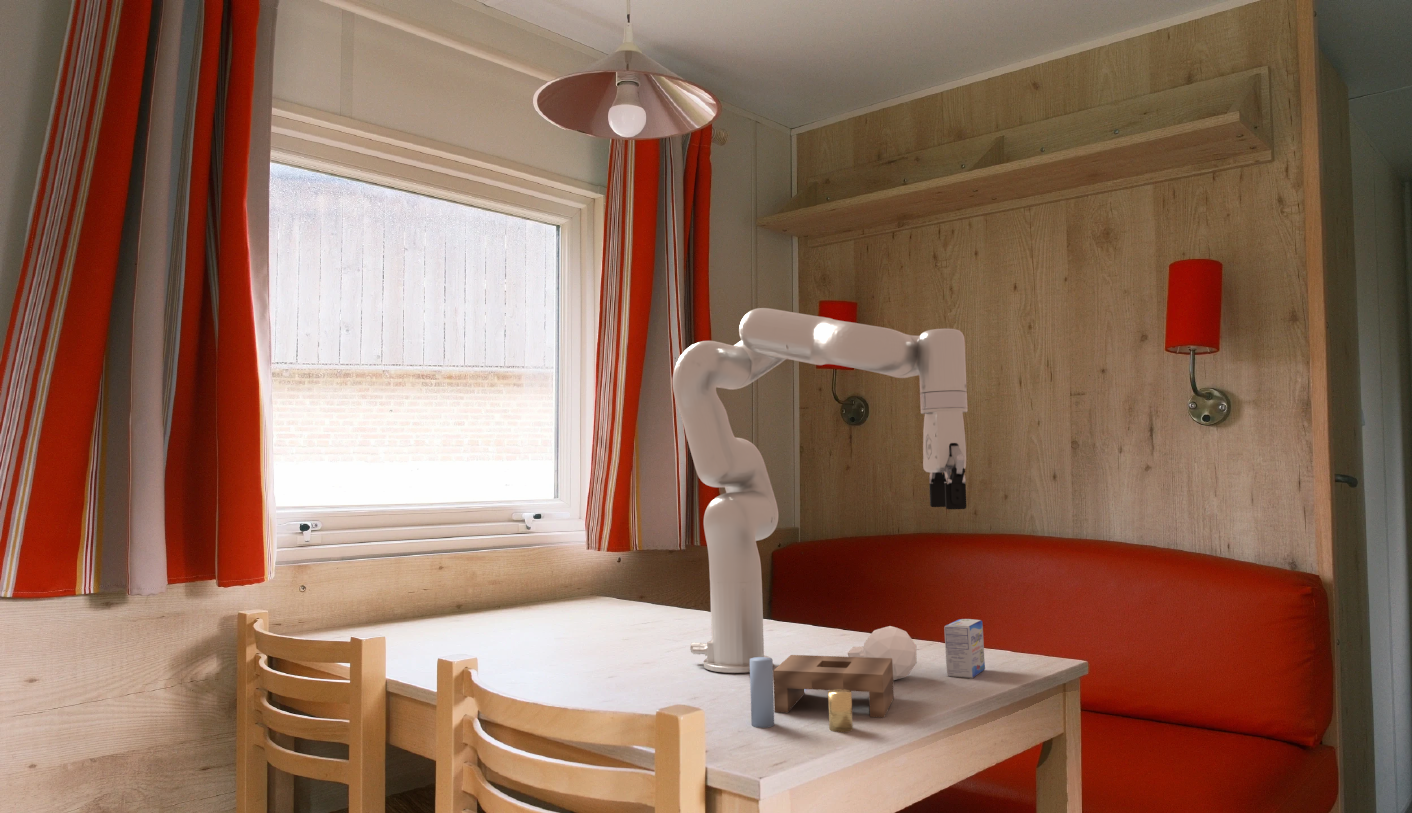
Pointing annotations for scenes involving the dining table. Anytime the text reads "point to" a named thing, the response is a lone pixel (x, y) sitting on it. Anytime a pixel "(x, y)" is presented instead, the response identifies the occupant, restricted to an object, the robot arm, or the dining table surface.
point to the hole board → (834, 679)
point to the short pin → (840, 710)
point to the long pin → (761, 692)
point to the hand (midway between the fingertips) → (947, 507)
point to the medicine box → (964, 648)
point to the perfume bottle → (890, 649)
